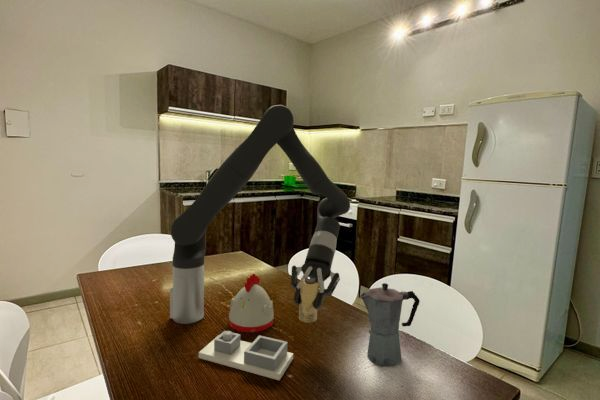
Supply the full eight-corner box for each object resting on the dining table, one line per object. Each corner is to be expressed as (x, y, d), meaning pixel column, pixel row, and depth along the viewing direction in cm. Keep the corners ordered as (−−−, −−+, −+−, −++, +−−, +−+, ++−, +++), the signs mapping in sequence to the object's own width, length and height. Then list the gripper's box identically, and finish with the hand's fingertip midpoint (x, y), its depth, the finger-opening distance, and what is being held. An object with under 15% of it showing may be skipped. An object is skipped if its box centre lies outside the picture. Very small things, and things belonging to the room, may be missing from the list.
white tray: (198, 357, 82) (198, 337, 81) (218, 340, 91) (219, 321, 90) (279, 380, 75) (280, 358, 74) (293, 358, 83) (293, 338, 83)
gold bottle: (296, 320, 86) (298, 279, 84) (302, 312, 90) (304, 273, 89) (313, 324, 84) (316, 282, 83) (318, 316, 88) (321, 276, 87)
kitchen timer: (219, 325, 98) (220, 277, 97) (243, 307, 111) (244, 265, 109) (260, 336, 93) (262, 286, 92) (280, 316, 106) (282, 271, 104)
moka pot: (352, 346, 90) (356, 276, 88) (405, 346, 92) (411, 277, 89) (361, 368, 81) (366, 290, 78) (421, 367, 82) (428, 291, 80)
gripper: (296, 239, 94) (277, 295, 84) (345, 246, 90) (331, 306, 80) (300, 253, 100) (284, 306, 90) (347, 260, 95) (335, 317, 85)
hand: (306, 306), depth 85 cm, fingers closed on gold bottle, 4 cm apart
